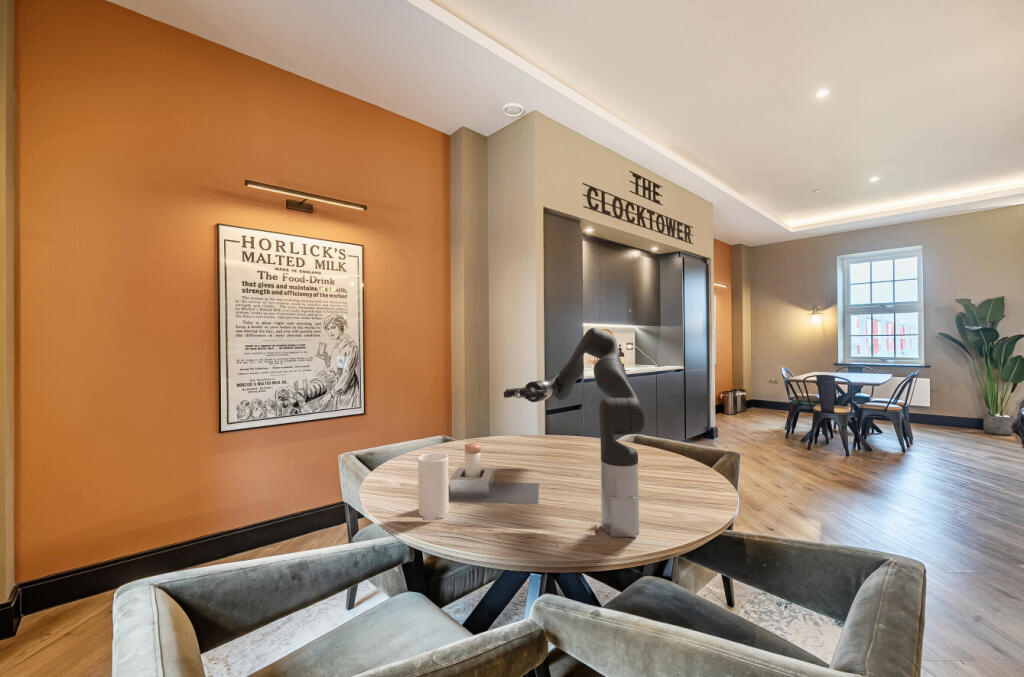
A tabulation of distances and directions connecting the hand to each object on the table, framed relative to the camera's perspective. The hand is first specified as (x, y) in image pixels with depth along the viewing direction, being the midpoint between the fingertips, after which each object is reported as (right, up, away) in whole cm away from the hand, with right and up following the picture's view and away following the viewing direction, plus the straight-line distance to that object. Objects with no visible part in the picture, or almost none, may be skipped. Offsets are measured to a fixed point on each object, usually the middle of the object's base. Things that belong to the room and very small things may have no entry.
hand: (515, 395), depth 137 cm
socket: (-14, -29, -8) cm, 33 cm away
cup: (-23, -30, -24) cm, 45 cm away
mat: (-7, -30, -11) cm, 32 cm away
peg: (-14, -29, -8) cm, 33 cm away
